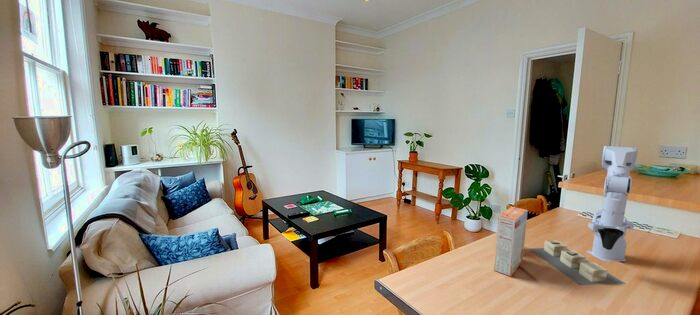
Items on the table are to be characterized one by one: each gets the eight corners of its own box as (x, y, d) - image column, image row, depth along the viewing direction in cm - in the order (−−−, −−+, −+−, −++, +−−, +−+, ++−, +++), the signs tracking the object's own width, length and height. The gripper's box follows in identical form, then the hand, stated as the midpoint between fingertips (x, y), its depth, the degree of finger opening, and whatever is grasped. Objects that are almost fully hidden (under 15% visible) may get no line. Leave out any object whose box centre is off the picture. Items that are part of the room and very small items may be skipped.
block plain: (592, 272, 102) (594, 262, 101) (605, 281, 97) (607, 270, 96) (578, 273, 101) (580, 262, 101) (591, 281, 96) (593, 270, 96)
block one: (555, 249, 118) (556, 239, 118) (565, 255, 113) (566, 245, 113) (543, 249, 118) (544, 240, 117) (552, 256, 113) (554, 246, 112)
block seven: (572, 260, 110) (574, 250, 109) (583, 267, 105) (585, 256, 104) (559, 260, 110) (561, 250, 109) (570, 267, 105) (572, 257, 104)
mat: (565, 248, 120) (565, 247, 120) (625, 285, 96) (625, 283, 95) (528, 249, 119) (528, 248, 119) (579, 286, 95) (579, 284, 94)
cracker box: (505, 257, 113) (511, 205, 110) (523, 262, 109) (529, 209, 106) (492, 270, 104) (497, 214, 100) (510, 277, 99) (517, 219, 96)
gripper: (604, 215, 94) (597, 254, 96) (645, 214, 95) (638, 253, 97) (585, 208, 101) (579, 244, 103) (624, 207, 102) (618, 243, 104)
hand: (607, 248), depth 101 cm, fingers closed
